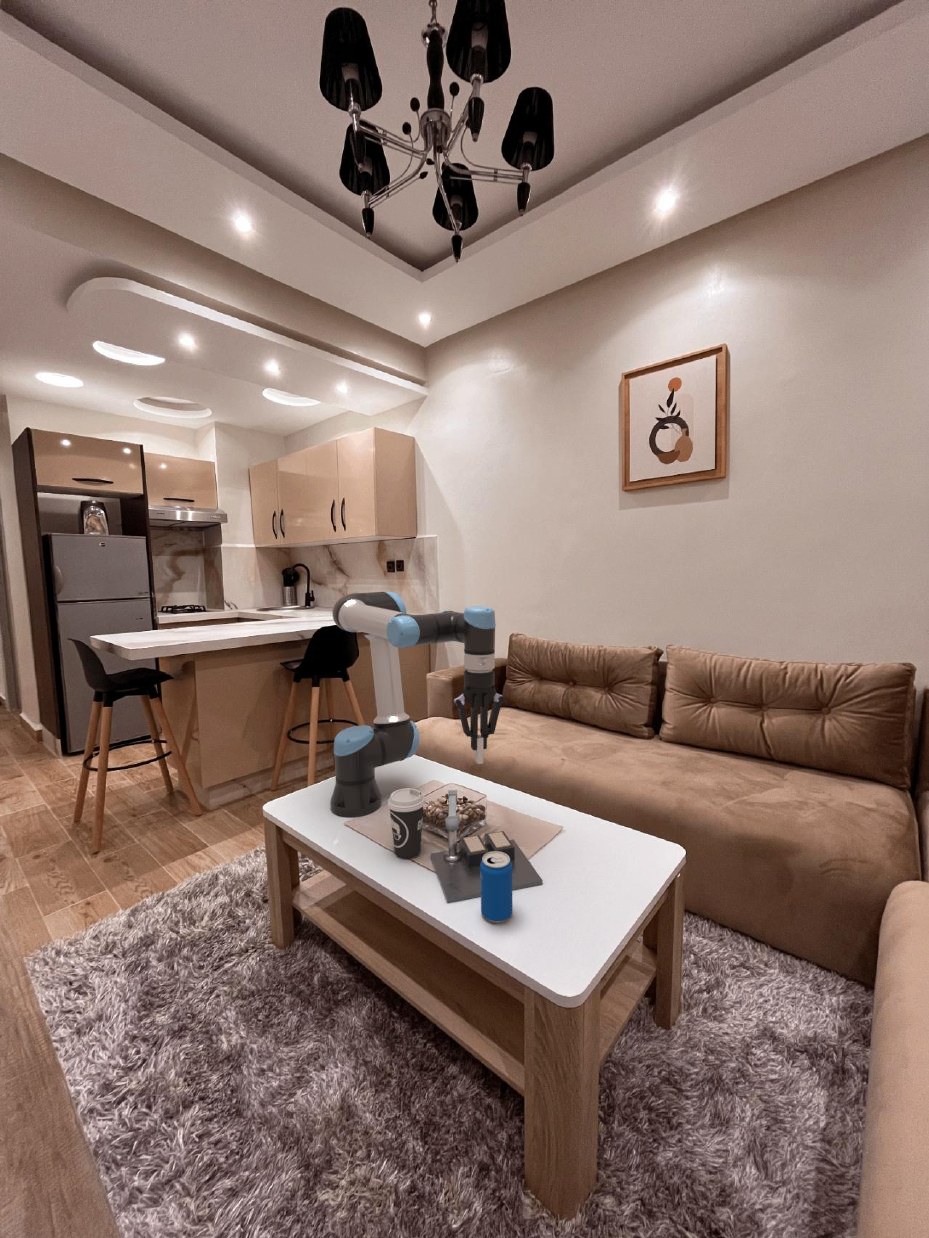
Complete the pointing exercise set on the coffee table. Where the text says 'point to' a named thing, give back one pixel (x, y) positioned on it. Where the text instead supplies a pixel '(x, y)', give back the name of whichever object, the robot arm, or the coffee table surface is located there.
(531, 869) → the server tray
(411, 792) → the coffee cup
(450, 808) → the cable arm
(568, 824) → the coffee table surface
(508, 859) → the beverage can
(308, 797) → the coffee table surface
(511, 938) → the coffee table surface
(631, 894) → the coffee table surface
